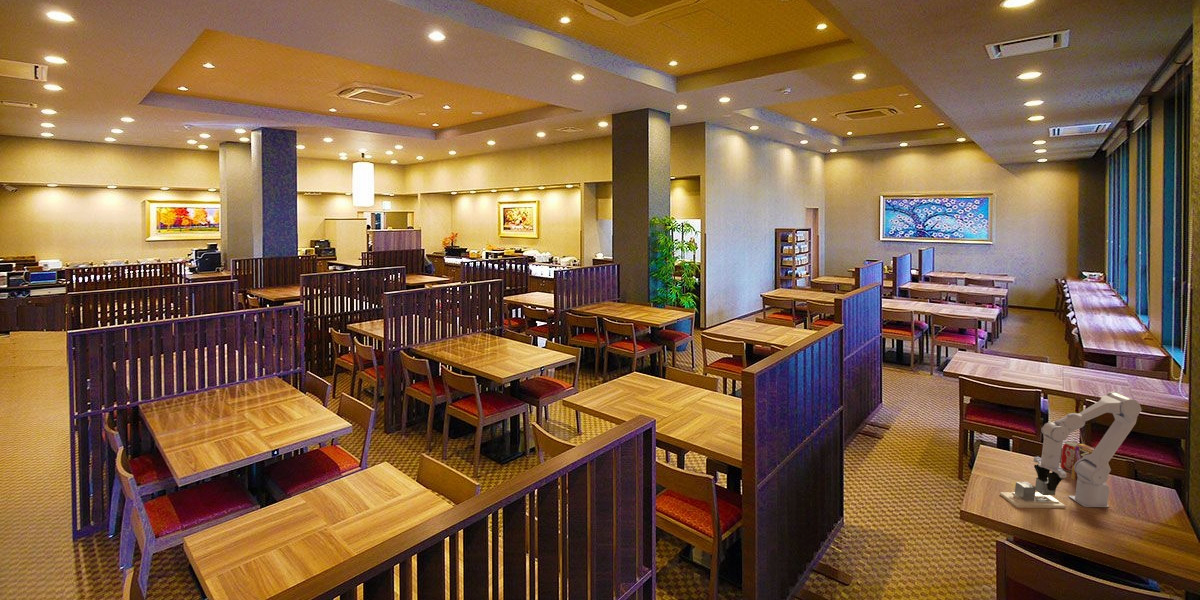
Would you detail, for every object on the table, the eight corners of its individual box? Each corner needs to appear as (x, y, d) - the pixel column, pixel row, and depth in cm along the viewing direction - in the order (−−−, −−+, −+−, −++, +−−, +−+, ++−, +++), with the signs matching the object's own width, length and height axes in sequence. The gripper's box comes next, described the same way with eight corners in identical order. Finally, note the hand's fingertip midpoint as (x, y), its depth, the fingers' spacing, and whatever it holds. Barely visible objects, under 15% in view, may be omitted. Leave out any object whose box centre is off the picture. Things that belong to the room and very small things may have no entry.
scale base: (1045, 495, 233) (1046, 491, 233) (1065, 507, 223) (1065, 504, 223) (999, 494, 234) (1000, 491, 233) (1017, 507, 224) (1017, 504, 223)
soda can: (1084, 474, 251) (1088, 447, 249) (1065, 472, 252) (1069, 446, 250) (1074, 467, 258) (1078, 441, 256) (1056, 465, 259) (1059, 439, 257)
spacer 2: (1034, 489, 231) (1036, 477, 230) (1046, 489, 230) (1048, 477, 230) (1043, 495, 226) (1044, 483, 225) (1055, 495, 226) (1056, 483, 225)
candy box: (1100, 487, 239) (1105, 452, 237) (1091, 488, 238) (1097, 453, 236) (1078, 477, 248) (1083, 443, 245) (1070, 478, 247) (1075, 444, 244)
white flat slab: (1045, 493, 232) (1045, 492, 232) (1059, 503, 225) (1059, 501, 225) (1012, 493, 232) (1012, 492, 232) (1024, 502, 225) (1024, 501, 225)
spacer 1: (1014, 493, 231) (1016, 481, 230) (1025, 493, 231) (1027, 481, 230) (1022, 499, 226) (1024, 487, 226) (1034, 499, 227) (1035, 487, 226)
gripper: (1027, 446, 233) (1023, 478, 235) (1054, 462, 219) (1050, 496, 221) (1045, 446, 233) (1041, 478, 235) (1074, 462, 218) (1069, 496, 221)
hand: (1046, 487), depth 228 cm, fingers closed on spacer 2, 4 cm apart
